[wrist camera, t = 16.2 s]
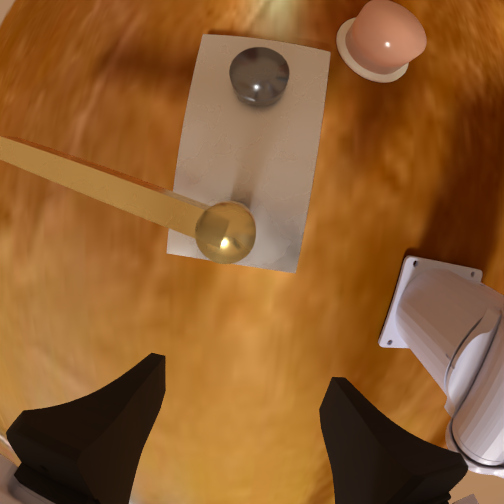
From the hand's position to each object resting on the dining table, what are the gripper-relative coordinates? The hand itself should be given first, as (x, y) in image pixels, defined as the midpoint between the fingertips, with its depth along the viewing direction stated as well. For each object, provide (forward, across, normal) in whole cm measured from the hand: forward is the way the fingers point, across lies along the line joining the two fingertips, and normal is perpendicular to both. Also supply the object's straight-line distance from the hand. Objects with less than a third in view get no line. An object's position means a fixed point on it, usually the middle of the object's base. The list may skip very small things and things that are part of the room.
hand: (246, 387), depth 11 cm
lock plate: (+10, +2, -10) cm, 15 cm away
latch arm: (+3, +8, -7) cm, 11 cm away
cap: (+10, -6, -20) cm, 24 cm away
